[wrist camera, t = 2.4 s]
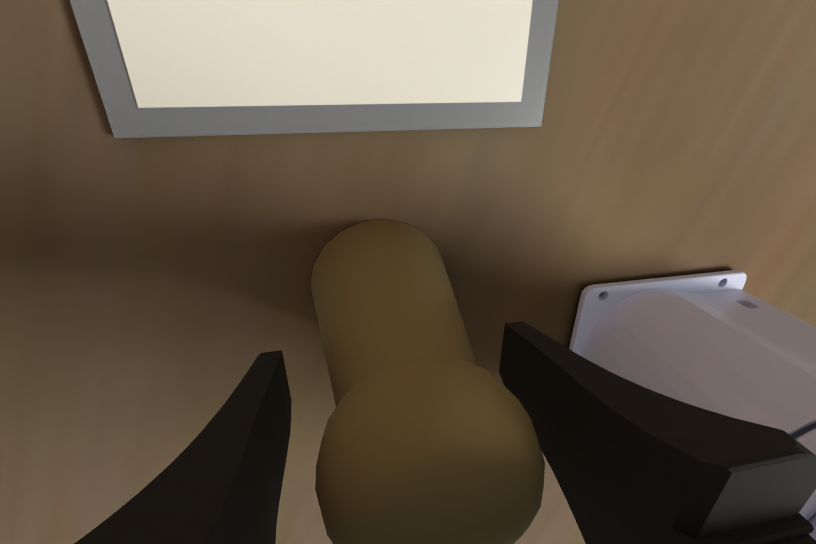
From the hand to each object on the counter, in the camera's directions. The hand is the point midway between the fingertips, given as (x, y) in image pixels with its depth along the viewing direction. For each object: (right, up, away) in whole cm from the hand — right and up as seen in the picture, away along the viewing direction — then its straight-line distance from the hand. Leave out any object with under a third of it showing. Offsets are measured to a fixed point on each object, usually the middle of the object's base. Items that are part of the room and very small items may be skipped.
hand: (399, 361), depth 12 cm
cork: (-1, +2, +5) cm, 6 cm away
